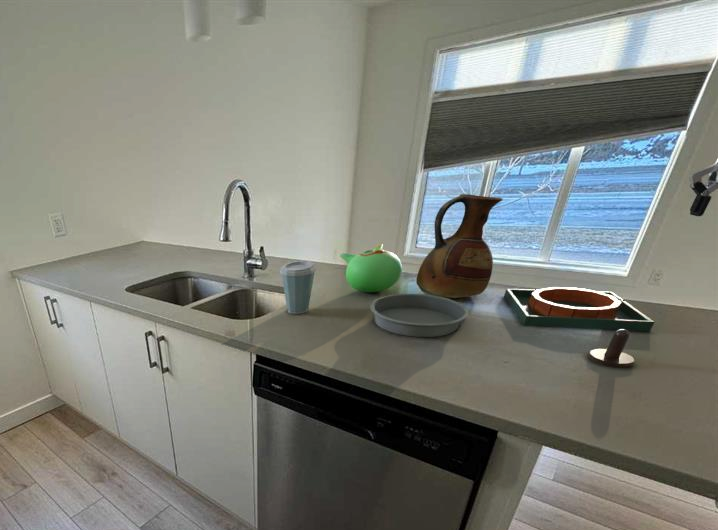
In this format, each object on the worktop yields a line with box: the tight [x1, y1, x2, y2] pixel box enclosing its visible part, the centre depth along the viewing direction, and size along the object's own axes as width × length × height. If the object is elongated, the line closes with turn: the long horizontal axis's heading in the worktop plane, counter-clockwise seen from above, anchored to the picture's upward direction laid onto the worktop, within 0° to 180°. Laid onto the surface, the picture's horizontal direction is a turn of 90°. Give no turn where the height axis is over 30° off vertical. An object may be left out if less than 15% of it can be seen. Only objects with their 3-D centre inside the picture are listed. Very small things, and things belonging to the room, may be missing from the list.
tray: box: [503, 288, 655, 333], centre depth 111 cm, size 26×24×3 cm
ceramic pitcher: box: [416, 193, 504, 300], centre depth 124 cm, size 20×20×30 cm
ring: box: [528, 286, 622, 319], centre depth 111 cm, size 18×18×4 cm
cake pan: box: [370, 293, 470, 338], centre depth 113 cm, size 25×25×4 cm
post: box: [587, 329, 635, 369], centre depth 87 cm, size 7×7×7 cm
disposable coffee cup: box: [280, 259, 316, 315], centre depth 126 cm, size 11×11×15 cm
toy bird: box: [339, 243, 403, 293], centre depth 138 cm, size 18×17×15 cm
